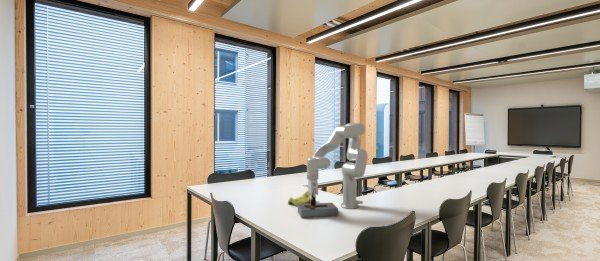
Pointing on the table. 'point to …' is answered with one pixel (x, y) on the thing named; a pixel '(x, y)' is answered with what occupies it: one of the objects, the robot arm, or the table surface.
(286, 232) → the table surface
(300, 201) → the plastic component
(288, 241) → the table surface
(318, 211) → the keyhole plate
